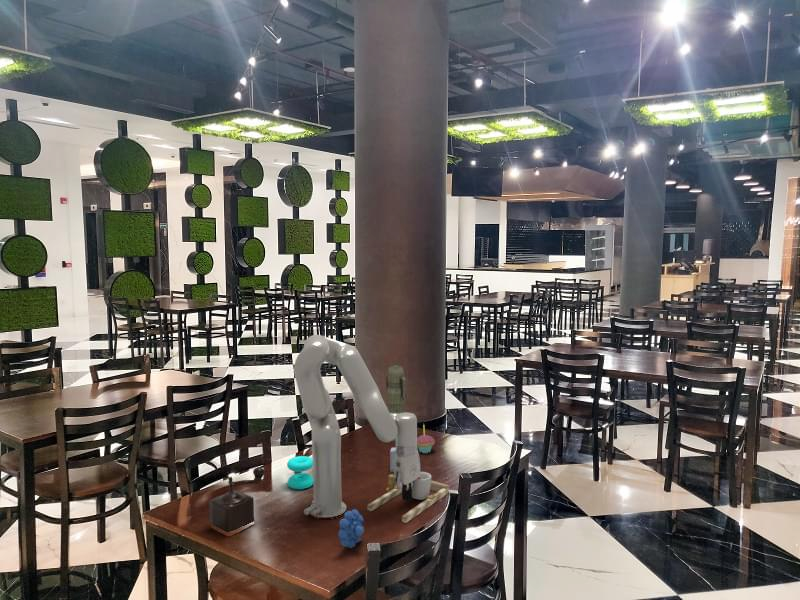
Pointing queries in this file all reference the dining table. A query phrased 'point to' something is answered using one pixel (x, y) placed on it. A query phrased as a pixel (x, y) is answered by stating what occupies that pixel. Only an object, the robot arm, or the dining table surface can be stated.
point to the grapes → (351, 528)
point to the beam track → (394, 491)
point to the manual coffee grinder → (234, 506)
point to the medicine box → (392, 459)
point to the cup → (421, 486)
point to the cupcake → (425, 442)
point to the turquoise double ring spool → (301, 478)
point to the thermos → (396, 390)
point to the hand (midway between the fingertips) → (407, 499)
